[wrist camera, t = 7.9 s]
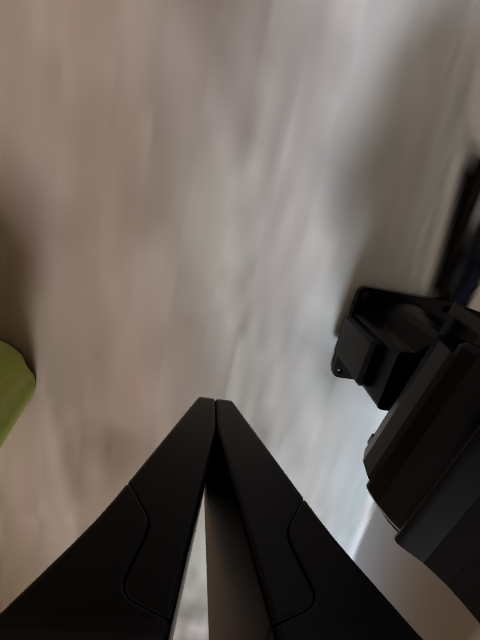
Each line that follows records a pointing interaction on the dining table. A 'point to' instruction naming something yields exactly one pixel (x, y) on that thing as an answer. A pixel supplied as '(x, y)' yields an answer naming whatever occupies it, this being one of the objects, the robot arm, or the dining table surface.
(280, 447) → the dining table surface
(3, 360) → the plant pot
